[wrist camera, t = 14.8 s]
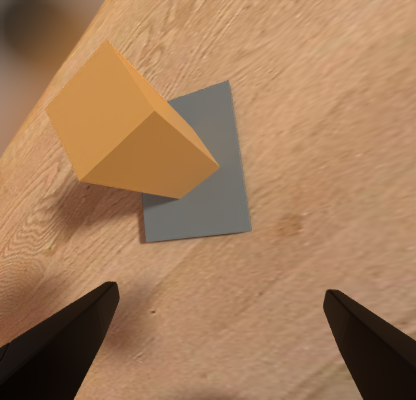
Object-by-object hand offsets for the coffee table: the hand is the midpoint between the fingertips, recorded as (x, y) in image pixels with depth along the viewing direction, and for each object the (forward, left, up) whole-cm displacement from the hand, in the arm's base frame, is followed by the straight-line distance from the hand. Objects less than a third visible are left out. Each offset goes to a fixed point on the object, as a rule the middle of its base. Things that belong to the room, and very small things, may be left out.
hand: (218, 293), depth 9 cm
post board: (+10, +6, -12) cm, 17 cm away
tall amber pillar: (+10, +6, -11) cm, 16 cm away
